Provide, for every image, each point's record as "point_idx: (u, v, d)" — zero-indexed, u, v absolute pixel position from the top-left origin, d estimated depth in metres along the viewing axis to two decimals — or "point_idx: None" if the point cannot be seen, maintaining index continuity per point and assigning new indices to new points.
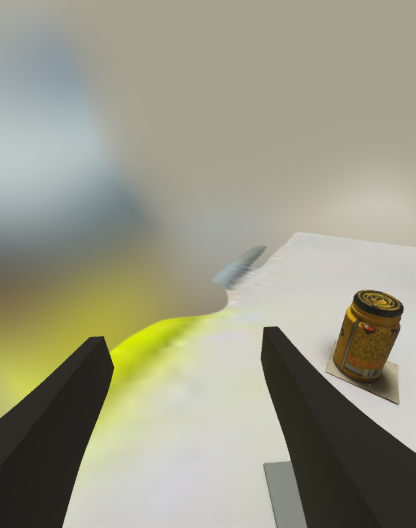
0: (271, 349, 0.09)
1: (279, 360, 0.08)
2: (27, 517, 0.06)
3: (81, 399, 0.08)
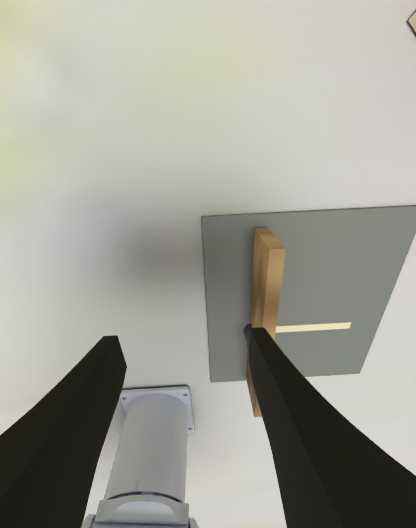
0: (256, 350, 0.09)
1: (263, 361, 0.08)
2: (51, 515, 0.06)
3: (97, 397, 0.08)
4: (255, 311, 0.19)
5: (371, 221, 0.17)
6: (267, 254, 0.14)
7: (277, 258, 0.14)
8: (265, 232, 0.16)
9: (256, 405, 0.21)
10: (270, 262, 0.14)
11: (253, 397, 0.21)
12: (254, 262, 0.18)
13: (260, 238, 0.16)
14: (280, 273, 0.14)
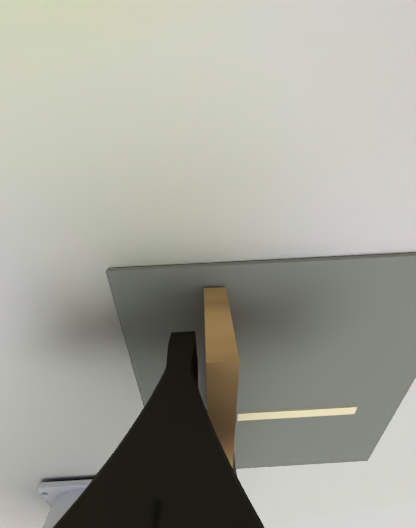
0: None
1: None
2: None
3: None
4: None
5: (394, 276, 0.10)
6: (206, 367, 0.07)
7: (224, 376, 0.07)
8: (217, 300, 0.09)
9: None
10: (210, 382, 0.07)
11: None
12: None
13: None
14: (232, 397, 0.07)
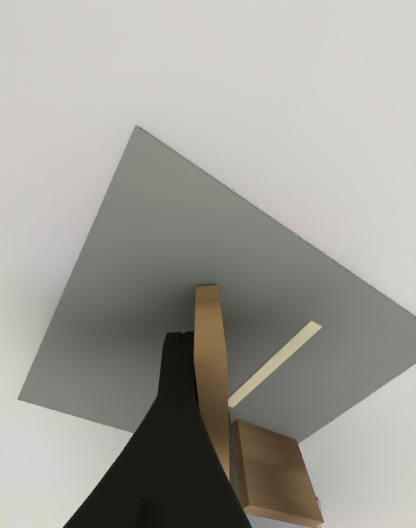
0: None
1: None
2: None
3: (197, 392, 0.08)
4: None
5: (117, 234, 0.09)
6: (194, 364, 0.07)
7: (213, 372, 0.07)
8: (208, 298, 0.09)
9: (290, 522, 0.13)
10: (200, 378, 0.07)
11: None
12: None
13: (195, 314, 0.09)
14: (223, 393, 0.08)
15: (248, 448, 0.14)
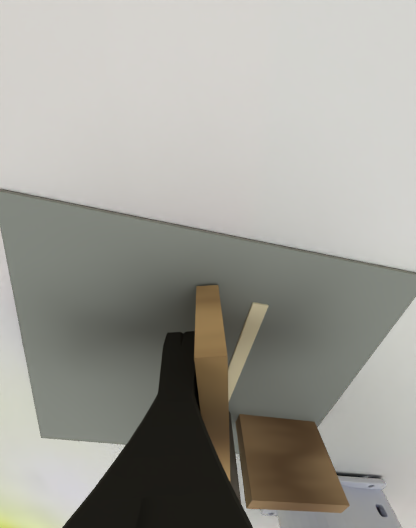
0: None
1: None
2: None
3: (197, 392, 0.08)
4: None
5: (34, 282, 0.10)
6: (195, 363, 0.07)
7: (213, 371, 0.07)
8: (208, 297, 0.09)
9: (311, 510, 0.12)
10: (200, 377, 0.07)
11: None
12: None
13: None
14: (223, 392, 0.08)
15: (252, 442, 0.14)
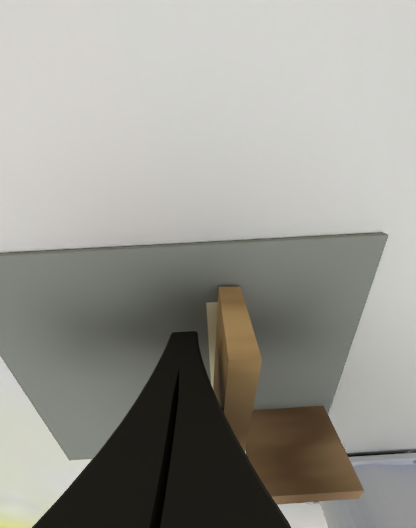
0: None
1: None
2: None
3: None
4: None
5: (3, 329, 0.11)
6: (226, 364, 0.07)
7: (245, 374, 0.07)
8: (233, 299, 0.09)
9: (324, 500, 0.12)
10: (230, 379, 0.07)
11: None
12: (217, 337, 0.11)
13: (221, 315, 0.09)
14: (250, 395, 0.08)
15: (255, 437, 0.14)
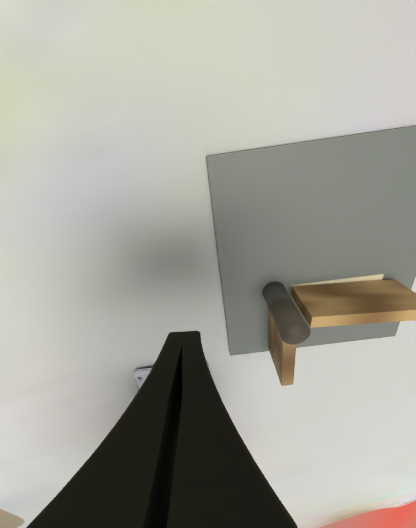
0: None
1: None
2: (167, 508, 0.06)
3: (178, 393, 0.08)
4: (330, 296, 0.18)
5: (403, 144, 0.15)
6: None
7: None
8: None
9: (283, 371, 0.19)
10: None
11: (279, 364, 0.19)
12: (367, 284, 0.19)
13: (410, 290, 0.18)
14: (409, 319, 0.17)
15: None
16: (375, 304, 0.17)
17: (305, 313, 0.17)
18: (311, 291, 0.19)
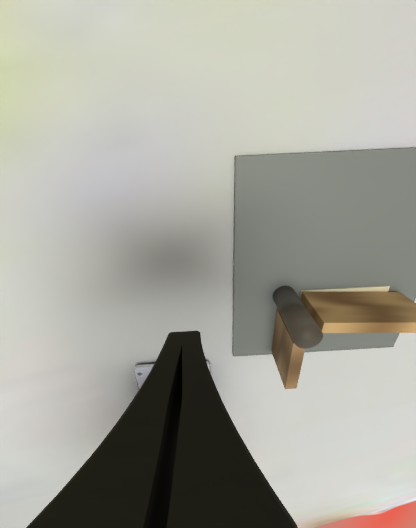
0: None
1: None
2: (167, 508, 0.06)
3: (178, 393, 0.08)
4: (340, 304, 0.19)
5: None
6: None
7: None
8: None
9: (288, 375, 0.19)
10: None
11: (284, 367, 0.20)
12: (374, 294, 0.20)
13: (415, 304, 0.19)
14: (414, 331, 0.17)
15: None
16: (383, 314, 0.17)
17: (316, 319, 0.18)
18: (321, 298, 0.19)
